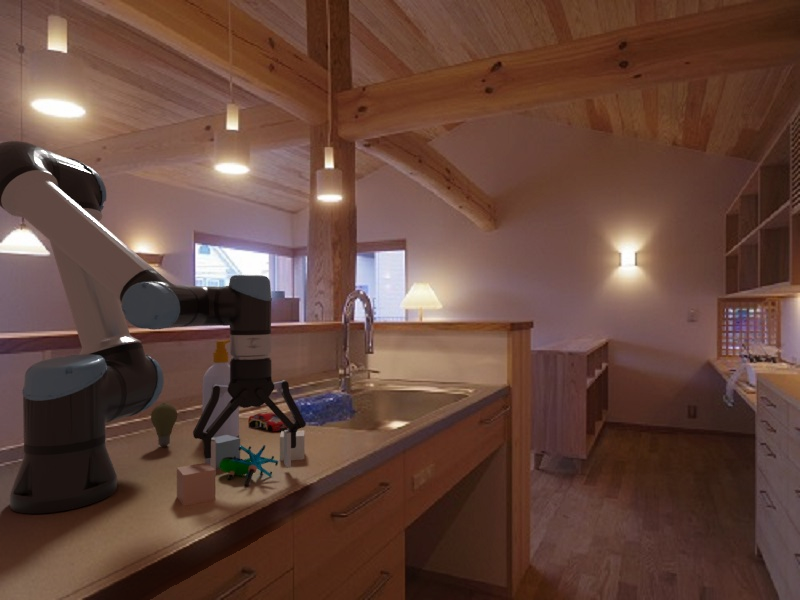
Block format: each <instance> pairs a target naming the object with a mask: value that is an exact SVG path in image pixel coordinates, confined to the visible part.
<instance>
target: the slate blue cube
mask: <svg viewBox="0 0 800 600" xmlns="http://www.w3.org/2000/svg"><path fill="white" fill-rule="evenodd" d="M214 438H215V441H216V469H220V466H219V464H220V462H221V460H222V459H223V458H226V457H233V458H234V456H235V457H236V458H239V459H241V450H238V449H239V447H240V445H241V438H240V437H238V436H237V437H233V436H230V435H223V436H218V437H214ZM207 462H208V463H209V464H210V458H207V459H205V458H204V463H207Z"/></svg>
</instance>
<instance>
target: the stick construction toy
mask: <svg viewBox="0 0 800 600" xmlns="http://www.w3.org/2000/svg"><path fill="white" fill-rule="evenodd" d="M251 449H252V446H251V445H250V446H249V447H248V448H246V447H245V446H243V445H241V444H240V447H239V449H238V450H240V451H241V450H242V451H243V452H244V453H246V454H247V455H249V457H248V458H245V459H243V458H240V459H239V458H236V457H235V456H234V458H233V457H226V458H223V459H222V460H221V462H220V464H219V466H220V468H219V469H220V470H222V471H223V472H224V473H227V474H228V478H227V481H232V478H233V477H234V476H235V475H236V476H245V477H246V480H245V481H244V484H243V486H244V487H246V488H247V487H248V488H249V486H250V483H251V480H252V478H253V475H254V473H257V470H258V471H260V472H259V475H260V476H261V475H263V474H265V475H267V476H268V477H270V478H271V477H272V474H273V471H267V470H266V469H265V468H263V465H264V464H268V463H271V464H275V465H274V466H276V467H277V466H278V464H279V460H276V459H275V456H274V455H272V456H271V458H267V457H263V456H262V454H263V452H264V450H265V449H266V445H264V444H263V446H262V447H261V448H260V449H259V451H258V452H257V453H253V451H251Z"/></svg>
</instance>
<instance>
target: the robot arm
mask: <svg viewBox="0 0 800 600" xmlns="http://www.w3.org/2000/svg"><path fill="white" fill-rule="evenodd" d="M106 201H107V188H106V185H105V183H104V181H103V179H102V177H101V176H100V175H99V173H98V172H97V171H95V170H94V168H91V166H89V165H86V164H85V163H83V162H81V161H80V160H77V159H75V158H72V157H66V156H63V155H61V154H57V153H56V152H53V151H50V150H48V149H46V148H43V147H40V146H38V145H36V144H32V143H29V142H26V141H20V140H19V141H17V140H9V141H3V142H0V207H1V208H2V209H3V210H4V211H6V212H7V214H9V215H11V216H14V217H19V218H23V219H24V220H26V221H27V222H28V223H29V224H30V225H32V226H33V227H34V228H35V229H36V230H37V231H38V232H40V233H41V234H42V235H43V236H44V237H46V239H48V240H49V243H50V246H51V249H52V252H53V253H52V254H53V256H54V259H55V262H56V263H55V264H56V265H57V269H58V272H59V273H58V274H59V276H60V279H61V282H62V285H63V290H64V292H65V295H66V299H67V303H68V306H69V309H70V313H71V316H72V320H73V322H74V326H75V328H76V332H77V335H78V340H79V342H80V346H81V349H80V352H79V354H73V355H66V356H58V357H53V358H48V359H45V360H40V361H38V362H36V363H33V364H32V365H30V366H29V367H28V368H27V369H26V371H25V374H24V385H23V388H22V395H23V396H22V397H23V398H22V401H23V406H22V407H23V457H22V460H21V462H20V463H21V464H20V465H19V468H18V471H17V474H16V477H15V480H14V482H13V485H12V488H11V490H10V495H9V507H10V509H11V510H12V511H13V512H17V513H20V514H36V515H37V514H49V513H57V512H58V513H59V512H64V511H70V510H74V509H78V508H81V507H82V508H83V507H86V506H89V505H92V504H96V503H98V502H100V501H103V500H106V499H107V498H109V497H110V496H112V495H113V494H115V493H116V492H117V489H118V478H117V477H118V476H117V473H116V471H115V468H114V464H113V462H112V460H111V457H110V454H109V452H108V449H107V444H106V433H107V432H106V424H107V423H110V422H115V421H117V420H120V419H123V418H127V417H129V418H130V417H132V416H135V415H138V414H139V413H142V412H143V411H145V410H148V409H149V408H151V407H152V406H153V405H154V404H155V403H156V402H157V400H158V399H159V397H160V395H161V394H162V392H163V388H164V382H165V381H164V378H165V377H164V372H163V369H162V366H161V365H160V364H159V362H158V361H157V360H156V359H154V358H152V357H151V356H150V355H148V354H146V353H145V351H144V346H143V343H142V341H141V340H140V339H137V338H135V337H134V336H132V335H131V333H130V330H129V327H128V324H127V322H128V323H129V324H130V325H132V326H134V327H135V328H139V329H147V330H153V331H154V330H163V329H171V328H187V327H207V326H209V327H210V326H211V327H212V326H215V327H217V326H224V327H225V326H227V327H228V326H229V340H230V342H229V355H230V356H231V357H232V358H231V360H230V361H229V365H230V383H229V385H228V386H219V385H217V384H214V385H213V386H212V393H211V397H210V399H209V401H208V403H207V405H206V407H205V409H204V411H203V410H202V414H201V415H200V417H199V419H198V422H197V424H196V426H195V427H194V429H193V432H192V435H193V438H194V439H199V440H202V441H203V456H204V460H205V459H207V458H210V465H211V466H212V467H213V468H214V469H215V478H216V475H217V471H216V469H217V468H216V441H215V438H212V437H213V436H214V435H215V434H216V433H217V431H218V430H219V429H220V428H221V426H222V425H223V424H224V423H225V421H226V420H227V419H228V418H229V417H230V415H231V414H232V413H233V412H234V411H235V410H236V409H237V408H238V406H239V408H243V409H247V408H251V407H255V408H259V407H261V406H263V405H266V406H267V407H268V409H270V410H271V412H272V413H274V414H275V415H276V416H277V417H278V418H279V419H280V420H281V421H282V422H283V423H284V424H285V425H286V426H287V429H284V430H283V431H284V461H283V464H284V466H285V467H286V468H292V460H291V448H295V447H296V432H297V431H299V430H300V429H301V428H305V427H306V426H307V423H306V421H305V419H304V417H303V416H302V413H301V411H300V410H299V408H298V406H297V404H296V401H294V399H293V396H292V395H291V392H290V385H289V384H290V383H289V382H288V381H287V380H286V379H281V380H280V381H275V382H273V378H272V358H271V357H269V355H271V354H272V302H273V298H272V291H271V289H272V287H271V280H270V279H269V277H268V276H267V275H263V274H262V275H259V274H235V275H231V276H230V278H229V282H228V285H222V286H210V285H209V286H198V285H185V284H177V283H176V284H175V283H172V282H170V281H169V280H168V279H167V278H165V277H164V276H163V275H162V274H161V273H159V272H158V270H156V269H155V268H154V267H153V266H152V265H150V264H149V263H148V262H147V261H146V260H144V258H142V257H141V256H139V255H138V254H137V253H136V252H135V251H134V250H133V249H131V248H130V246H128V245H126V244H125V242H123V241H122V240H121V239H120V238H118V237H117V236H116V235H115V234H114V233H113V232H111V231H110V230H109V229H108V228H107V227H105V226H104V225H103V224H102V223H100V222H101V220H102V218H103V214H102V211H103V209H104V208H105V204H104V203H105V202H106ZM274 390H276V391H277V392H278V393H280V394H281V395H282V398H283V401H285V403H286V405H287V408H288V409H289V411H290V413H291V415H292V416H293V417H292V418H294V420H295V421H293V422H292V420H290V418H289V417H288V416H286V414H285V413H284V412H283V411H282V410H281V409H280V408H279V407H278V405H277V404H275V402H274V401H273V400H272V399H271V398H270V396H271V394H272V393H273V391H274ZM225 392H228V393H229V394H230V395H231V397H232V399H231V400H230V402H229V403H228V404H227V406H226V407H225V409H224V410H223V411H222V412H221V413H220V415H219V416H218V417H217V418H216V419H215V421H214V422H213V423H212V424H211V426H210V427H209V428H208V429H207V430H206V432H205V431H203V430H204V428H205V426H206V424H207V422H208V420H209V418H210V416H211V414H212V412H213V410H214V408H215V406H216V405H217V402H218V400H219V397H223V395H224V393H225Z"/></svg>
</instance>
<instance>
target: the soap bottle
mask: <svg viewBox="0 0 800 600" xmlns="http://www.w3.org/2000/svg"><path fill="white" fill-rule="evenodd" d="M215 342H216V343H215V344H216V349H214V351H215V352H213V355H212V356H213V365H211V366H210V367H208V369H206V371H205V373H204V375H203V379H202V382H201V383H202V387H201V388H202V391H201V392H202V393H201V394H202V397H201V398H202V412H203V411H204V409H205V407H206V405H207V403H208V401H209V399H210V397H211V393H212V386H213V385H214V384H217V385H219V386H228V385H229V383H230V363H229V352H228V351H227V349H226V344H229V343H230V339H226V340H225V339H224V340H215ZM231 399H232V397H231V395H230V394H229V393H228V392H225V393H224V395H223V397H219V400H218V402H217V405H216V406H215V408H214V410H213V412H212V414H211V416H210V418H209V420H208V422H207V424H206V426H205V428H204V430H203V431H205V432H206V430H207V429H208V428H209V427H210V426H211V424H212V423H213V422H214V421H215V419H216V418H217V417H218V416H219V415H220V413H221V412H222V411H223V410H224V409H225V407H226V406H227V404H228V403H229V402H230V400H231ZM223 435H230V436H233V437H237V438H238V437H239V435H240V406H238V408H237V409H236V410H235V411H234V412H233V413H232V414H231V415H230V417H229V418H228V419H227V420H226V421H225V423H224V424H223V425H222V426H221V428H220V429H219V430H218V431H217V433H216V434H215V435H214V436H213V437H212V438H214V437H218V436H223Z"/></svg>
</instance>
